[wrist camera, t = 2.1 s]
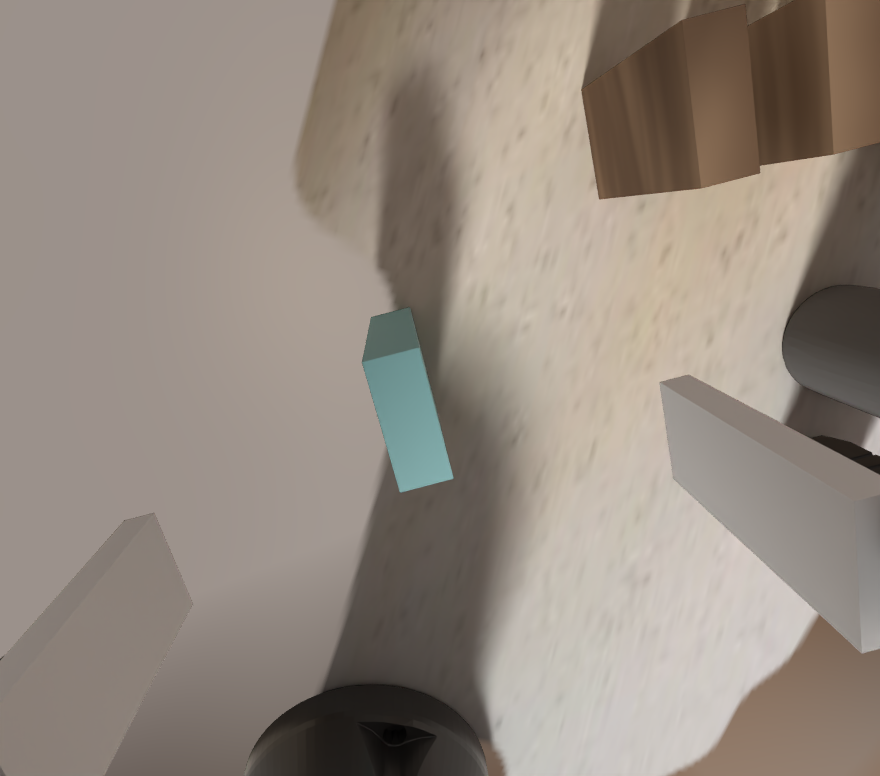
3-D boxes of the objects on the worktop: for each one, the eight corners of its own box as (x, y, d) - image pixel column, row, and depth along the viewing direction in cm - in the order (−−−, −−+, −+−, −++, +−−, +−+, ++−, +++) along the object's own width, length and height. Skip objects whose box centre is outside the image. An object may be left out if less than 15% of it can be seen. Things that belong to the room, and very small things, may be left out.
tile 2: (599, 199, 29) (701, 188, 20) (581, 89, 28) (681, 19, 18) (638, 189, 29) (759, 173, 20) (622, 79, 28) (745, 4, 18)
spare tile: (397, 409, 31) (400, 492, 22) (371, 317, 30) (361, 362, 20) (434, 399, 31) (453, 478, 22) (409, 307, 30) (419, 347, 20)
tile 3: (687, 176, 29) (833, 154, 20) (674, 66, 28) (824, -17, 18) (727, 166, 29) (892, 139, 20) (716, 55, 28) (887, -33, 18)
